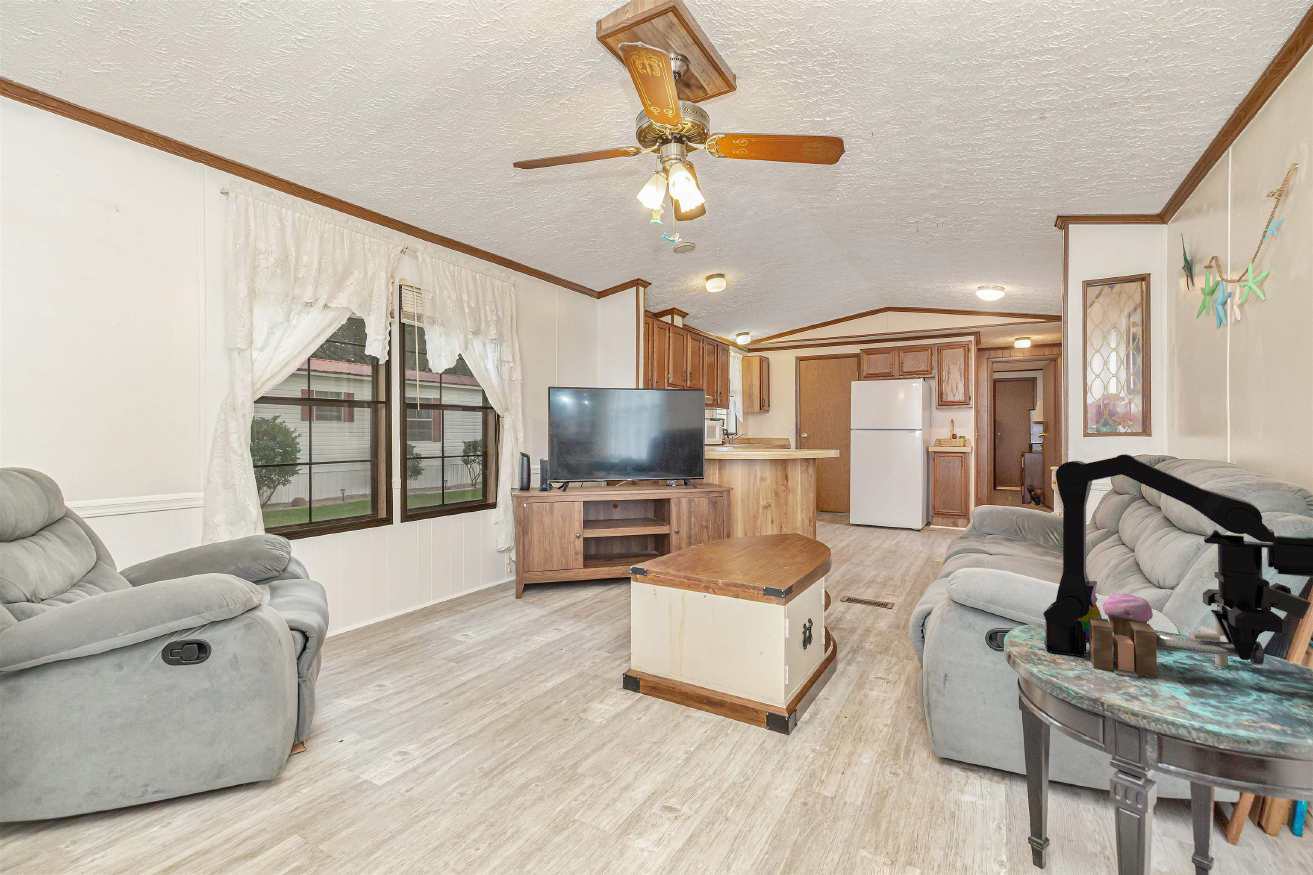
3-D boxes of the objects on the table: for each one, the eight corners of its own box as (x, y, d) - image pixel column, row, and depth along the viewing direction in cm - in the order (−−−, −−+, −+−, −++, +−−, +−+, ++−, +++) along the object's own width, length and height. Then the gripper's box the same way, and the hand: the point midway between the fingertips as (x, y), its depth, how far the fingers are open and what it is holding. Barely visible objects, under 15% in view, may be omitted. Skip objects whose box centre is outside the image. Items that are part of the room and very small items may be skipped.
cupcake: (1100, 630, 137) (1099, 587, 137) (1148, 636, 133) (1147, 591, 133) (1106, 641, 129) (1105, 596, 130) (1157, 648, 125) (1156, 600, 125)
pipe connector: (1272, 675, 110) (1271, 621, 110) (1210, 672, 112) (1209, 619, 112) (1232, 656, 120) (1231, 607, 120) (1175, 653, 122) (1174, 604, 122)
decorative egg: (1049, 632, 137) (1048, 588, 137) (1081, 630, 138) (1080, 587, 138) (1078, 643, 128) (1077, 597, 129) (1112, 641, 129) (1111, 596, 130)
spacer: (1118, 669, 113) (1117, 642, 113) (1113, 660, 118) (1113, 634, 118) (1134, 671, 112) (1133, 644, 112) (1128, 662, 117) (1128, 636, 117)
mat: (1115, 674, 111) (1115, 673, 111) (1106, 657, 120) (1106, 656, 120) (1138, 677, 110) (1138, 676, 110) (1127, 660, 119) (1127, 658, 119)
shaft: (1140, 652, 112) (1140, 630, 112) (1136, 645, 116) (1135, 625, 116) (1264, 668, 104) (1263, 645, 104) (1255, 660, 107) (1254, 638, 107)
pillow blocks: (1093, 668, 115) (1093, 625, 115) (1089, 658, 120) (1088, 617, 120) (1157, 677, 110) (1156, 632, 110) (1149, 666, 115) (1148, 623, 115)
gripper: (1329, 586, 95) (1331, 684, 94) (1279, 564, 111) (1281, 648, 111) (1235, 579, 100) (1237, 671, 100) (1201, 559, 116) (1202, 639, 116)
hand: (1241, 657), depth 107 cm, fingers closed on shaft, 2 cm apart
